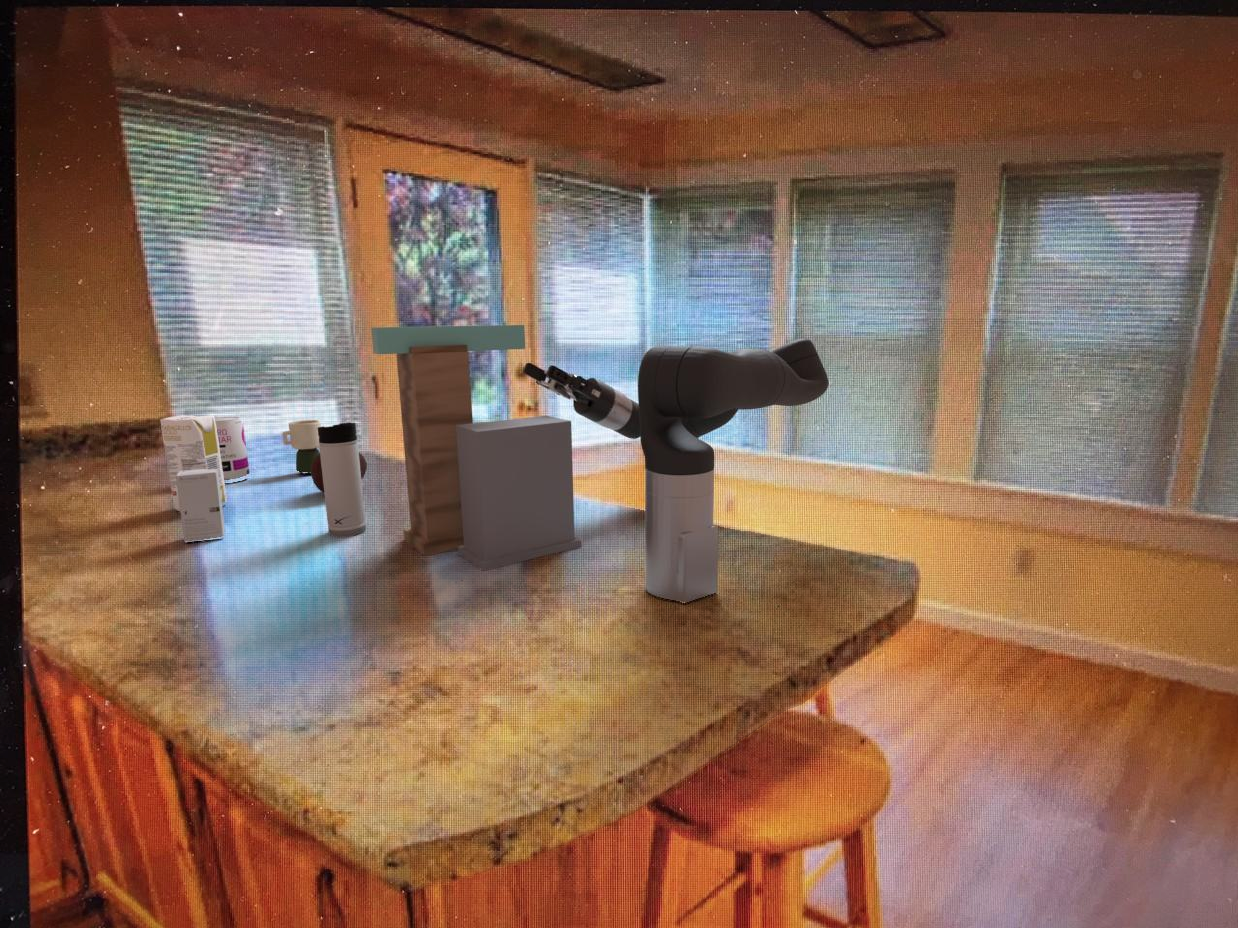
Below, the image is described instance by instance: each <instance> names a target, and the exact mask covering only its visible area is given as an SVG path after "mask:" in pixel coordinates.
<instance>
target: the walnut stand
mask: <svg viewBox="0 0 1238 928" xmlns="http://www.w3.org/2000/svg"><path fill="white" fill-rule="evenodd" d="M409 351H410V353H403V354H395V355H396V365H397V367H396V368H397V375H398V376H397V378H398V389H399V401H400V414H401V425H402V436H403V448H404V462H405V463H404V464H405V471H406V472H405V473H406V482H407V483H406V485H407V497H408V508H409V509H408V510H409V519H410V520H409V521H410V522H409V523H410V527H406V528H403V540H404V542H406V543H407V544H409V545H410V546H411V547H413V548H414V549H415V550H416V551H417V552H418V553H420V554H421V555H423V556H425V557H426V556H431V555H435V554H441V553H445V552H449V551H453V550H458V547H457V546H462V545H464V538H463V523H462V508H461V493H460V478H459V463H458V448H457V432H456V425H464V424H473V423H474V420H473V419H474V418H473V404H472V403H473V402H472V388H471V387H472V386H471V385H472V384H471V370H470V357H469V355H470V353H469V352H470V351H468V348H467V345H449V346H421V347H409Z"/></svg>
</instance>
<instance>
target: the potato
mask: <svg viewBox="0 0 1238 928" xmlns="http://www.w3.org/2000/svg"><path fill="white" fill-rule="evenodd" d="M359 461H360V471H361V481H363V479H364V476H365V475H366V472H367V470H368V469H367V467H368V463H367V461H366V458H365V456H364V455H363V454H362V453H360V452H359ZM310 476H311V478H312V481H313V484H314V485H315V486H316V488H317V489H318V490H319V491H320V492H321V493H323V494H325V493H324V484H323V475H322V466H321V457H320V453H319V454H318V455H317V456H316V458H315V459H314V460H313V463H312V466H311V473H310Z"/></svg>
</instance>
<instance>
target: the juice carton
mask: <svg viewBox="0 0 1238 928" xmlns="http://www.w3.org/2000/svg"><path fill="white" fill-rule="evenodd" d="M215 418H216V417H215V415H214V414H209V415H192V414H191V415H190V414H180V415H174V416H169V417H164V418H160V426H161V427H160V428H161V435H162V441H163V442H162V443H163V448H164V453H165V454H164V455H165V459H166V467H167V472H168V478H169V484H170V489H171V496H172V497H171V498H172V502H173V507H174V510H175V509H180V505H179V497H178V489H177V482H176V476H177V474H178V472H179V471H187V470H198V469H214V468H217V469H218V473H219V483H220V491H221V500H222V503H223V502H227V492H226V491H227V490H226V484H225V483H224V476H223V469H222V462H221V455H220V448H219V441H218V434H217V428H216V423H215Z"/></svg>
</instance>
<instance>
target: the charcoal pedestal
mask: <svg viewBox="0 0 1238 928" xmlns="http://www.w3.org/2000/svg"><path fill="white" fill-rule="evenodd" d="M456 432H457V448H458V463H459V478H460V493H461V508H462V523H463V538H464V545H462V546H457V547H458V549H457V554H458V555H460V556H461V557H462V558H463V559H465V560H466V561H468V562H470V563H471V565H472V564H473V565H474V566H476V567H477V568H478V569H479V570H481V571H482V572H483V571H487V570H488V571H489V570H492V569H496V568H499V567H504V566H509V565H512V564H516V563H520V562H524V561H529V560H532V559H533V560H534V559H537V558H542V557H545V556H550V555H554V554H557V553H561V552H565V551H569V550H574V549H577V548H578V549H579V548H581V547H582V539H580V538H578V537H577V536H575V534H576V533H575V506H574V505H575V504H574V499H575V498H574V473H573V472H574V471H573V441H572V439H573V438H572V432H573V431H572V420H568V419H563V418H559V417H554V416H551V415H539V416H538V415H537V416H530V417H520V418H513V419H512V418H511V419H505V420H504V419H503V420H494V421H484V422H477V423H476V422H475V423H474V422H473V424H464V425H456Z"/></svg>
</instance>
